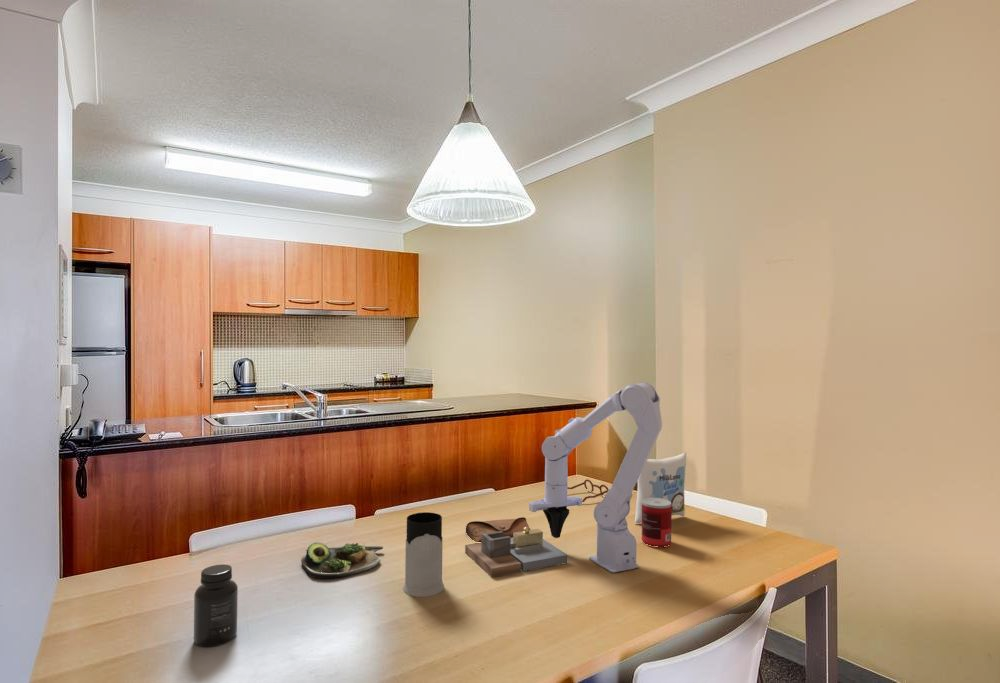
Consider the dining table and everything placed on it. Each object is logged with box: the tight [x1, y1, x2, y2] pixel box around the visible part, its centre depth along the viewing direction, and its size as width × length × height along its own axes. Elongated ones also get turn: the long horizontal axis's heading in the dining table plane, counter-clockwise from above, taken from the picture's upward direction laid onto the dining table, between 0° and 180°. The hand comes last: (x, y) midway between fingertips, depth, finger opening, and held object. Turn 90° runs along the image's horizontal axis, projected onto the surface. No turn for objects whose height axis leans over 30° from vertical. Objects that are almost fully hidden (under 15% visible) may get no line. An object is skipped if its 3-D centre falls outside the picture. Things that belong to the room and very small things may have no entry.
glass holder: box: [402, 511, 445, 598], centre depth 121 cm, size 9×14×15 cm, turn 15°
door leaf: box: [510, 538, 569, 572], centre depth 137 cm, size 16×12×3 cm
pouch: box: [634, 451, 687, 524], centre depth 165 cm, size 8×19×20 cm, turn 112°
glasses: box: [567, 478, 610, 503], centre depth 190 cm, size 13×13×5 cm
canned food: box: [641, 498, 673, 547], centre depth 147 cm, size 8×8×11 cm
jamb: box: [464, 531, 522, 578], centre depth 133 cm, size 16×7×6 cm, turn 25°
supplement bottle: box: [193, 563, 239, 648], centre depth 98 cm, size 7×7×12 cm
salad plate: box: [300, 542, 384, 580], centre depth 132 cm, size 19×18×5 cm
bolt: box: [513, 526, 544, 548], centre depth 137 cm, size 2×7×5 cm, turn 115°
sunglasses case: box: [465, 516, 531, 542], centre depth 152 cm, size 18×7×7 cm, turn 109°
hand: (555, 536), depth 140 cm, fingers closed
